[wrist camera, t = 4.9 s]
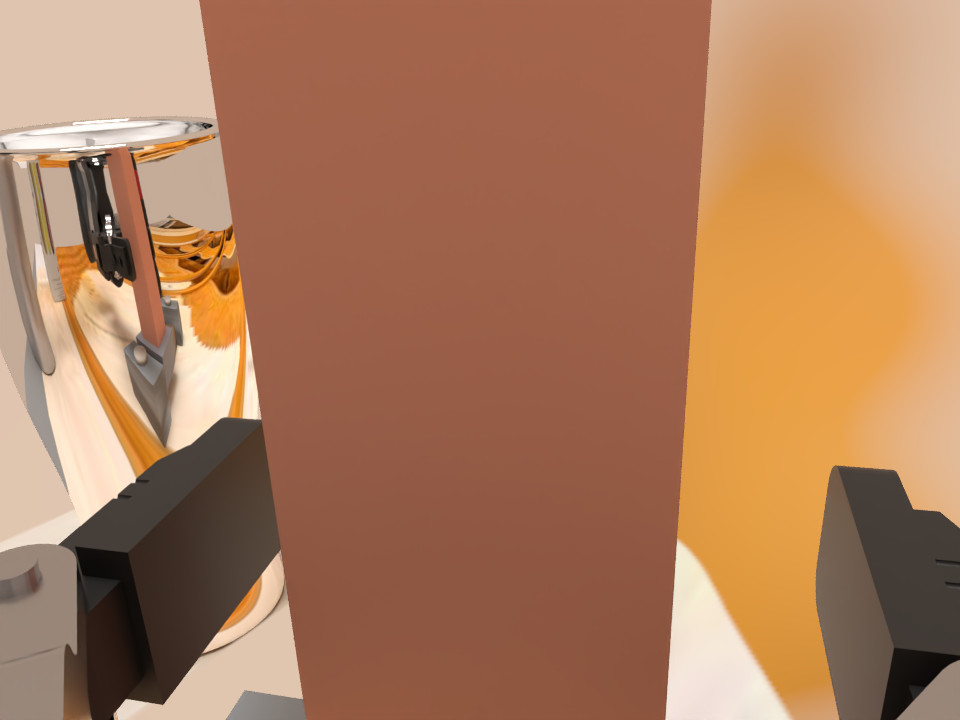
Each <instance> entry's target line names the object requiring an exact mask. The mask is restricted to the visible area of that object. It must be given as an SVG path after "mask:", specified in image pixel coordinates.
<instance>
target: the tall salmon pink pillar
mask: <svg viewBox="0 0 960 720" xmlns="http://www.w3.org/2000/svg"><path fill="white" fill-rule="evenodd" d="M199 1H200V7H201V14H202V21H203V28H204V35H205V41H206V47H207V55H208V62H209V67H210V75H211V81H212V88H213V95H214V101H215V109H216V115H217V122H218V129H219V136H220V142H221V149H222V156H223V163H224V169H225V176H226V183H227V189H228V196H229V203H230V210H231V216H232V223H233V230H234V237H235V243H236V250H237V257H238V264H239V270H240V277H241V284H242V290H243V297H244V304H245V311H246V317H247V324H248V331H249V338H250V344H251V351H252V358H253V365H254V371H255V378H256V385H257V391H258V398H259V404H260V411H261V418H262V425H263V432H264V439H265V445H266V452H267V459H268V466H269V472H270V479H271V486H272V492H273V499H274V506H275V513H276V519H277V526H278V533H279V540H280V546H281V553H282V560H283V567H284V573H285V580H286V587H287V593H288V600H289V607H290V613H291V619H292V627H293V633H294V640H295V647H296V654H297V661H298V667H299V674H300V680H301V688H302V694H303V701H304V708H305V715H306V720H665V716H666V700H667V685H668V669H669V654H670V638H671V623H672V607H673V592H674V576H675V561H676V545H677V529H678V514H679V499H680V483H681V468H682V452H683V436H684V421H685V405H686V390H687V374H688V359H689V343H690V328H691V313H692V297H693V281H694V266H695V250H696V235H697V220H698V218H697V217H698V203H699V189H700V173H701V158H702V142H703V126H704V111H705V96H706V79H707V65H708V49H709V33H710V17H711V3H712V0H199Z"/></svg>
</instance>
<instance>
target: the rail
mask: <svg viewBox="0 0 960 720" xmlns="http://www.w3.org/2000/svg"><path fill="white" fill-rule="evenodd" d="M226 720H306V715H305V708H304V701H303V699H296V698H290V697H284V696H277V695H271V694H264V693H258V692H252V691H245V692H244V693H243V694H242V696H241V697H240V699H239V700H238V702H237V703H236V705H235V706H234V708H233V709H232V711H231V713H230V714H229V716H228V717H227V719H226Z"/></svg>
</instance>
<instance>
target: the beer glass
mask: <svg viewBox="0 0 960 720" xmlns="http://www.w3.org/2000/svg"><path fill="white" fill-rule="evenodd" d="M0 348H1V351H2V354H3V357H4V359H5V362H6V364H7V366H8V369H9V371H10V373H11V376H12V378H13V380H14V383H15V385H16V388H17V390H18V392H19V394H20V397H21V399H22V401H23V403H24V405H25V407H26V409H27V411H28V413H29V415H30V417H31V420H32V422H33V424H34V426H35V428H36V430H37V432H38V434H39V436H40V438H41V440H42V442H43V444H44V446H45V448H46V450H47V452H48V453H49V456H50V457H51V459H52V461H53V463H54V465H55V467H56V469H57V471H58V473H59V475H60V477H61V479H62V482H63V484H64V486H65V488H66V490H67V492H68V494H69V497H70V499H71V501H72V503H73V505H74V507H75V511H76V514H77V517H78V520H79V523H80V526H81V525H82V524H83V523H85V522H86V521H87V520H88V519H89V518H90V517H92V516H93V515H94V514H95V513H96V512H98V511H99V510H100V509H101V508H102V507H103V506H105V505H106V504H107V503H108V502H109V501H110V500H112V499H113V498H115V499H117V497H118V494H119V493H120V492H121V491H122V490H123V489H124V488H126V487H127V486H128V485H129V484H130V483H135V481H136V478H137V477H139V476H140V475H141V474H142V473H143V472H144V471H146V470H147V469H148V468H149V467H150V466H151V465H153V464H154V463H155V462H156V461H157V460H159V459H161V458H163V457H165V456H167V455H170V454H172V453H174V452H176V451H178V450H180V449H182V448H184V447H186V446H188V445H191V444H192V443H193V442H194V441H195V440H197V439H198V438H199V437H200V436H201V435H202V434H203V433H205V432H206V431H207V430H208V429H209V428H210V427H211V426H212V425H214V424H215V423H216V422H217V421H218V420H220V419H221V418H224V417H232V418H245V419H257V412H258V391H257V385H256V378H255V371H254V365H253V358H252V351H251V344H250V338H249V331H248V324H247V317H246V311H245V304H244V297H243V290H242V284H241V277H240V270H239V264H238V257H237V250H236V243H235V237H234V230H233V223H232V216H231V210H230V203H229V196H228V189H227V183H226V176H225V169H224V163H223V156H222V149H221V142H220V136H219V129H218V122H217V119H211V118H202V117H176V116H174V117H173V116H172V117H171V116H169V117H168V116H167V117H131V118H112V119H99V120H85V121H74V122H63V123H53V124H44V125H36V126H28V127H21V128H15V129H8V130H2V131H0ZM283 587H284V570H283V565H282V562H281V559H280V556H279V553H278V554H277V555H276V556H275V558H274V559H273V560H272V562H271V563H270V564H269V566H268V567H267V568H266V570H265V571H264V572H263V573H262V575H261V576H260V577H259V579H258V580H257V581H256V583H255V584H254V585H253V587H252V588H251V589H250V591H249V592H248V593H247V595H246V596H245V597H244V599H243V600H242V601H241V603H240V604H239V605H238V607H237V608H236V609H235V611H234V612H233V613H232V614H231V616H230V617H229V618H228V620H227V621H226V622H225V624H224V625H223V626H222V628H221V629H220V630H219V632H218V633H217V634H216V636H215V637H214V638H213V640H212V641H211V642H210V644H209V645H208V646H207V648H206V649H205V650H204V652H203V653H206V652H209V651H212V650H215V649H217V648H220V647H222V646H224V645H226V644H228V643H230V642H232V641H234V640H236V639H238V638H240V637H241V636H243V635H245V634H246V633H248V632H249V631H250V630H252V629H253V628H254V627H256V626H257V625H258V624H259V623H260V622H261V621H262V620H264V619H265V618H266V617H267V615H268V614H269V613H270V612H271V611H272V610H273V608H274V607H275V605H276V604H277V602H278V601H279V599H280V596H281V594H282V591H283ZM203 653H202V654H203Z"/></svg>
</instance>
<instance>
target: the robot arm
mask: <svg viewBox="0 0 960 720" xmlns="http://www.w3.org/2000/svg"><path fill="white" fill-rule="evenodd" d="M280 549H281V546H280V540H279V533H278V526H277V519H276V513H275V506H274V499H273V492H272V486H271V479H270V472H269V466H268V459H267V452H266V445H265V439H264V432H263V425H262V420H258V419H245V418H232V417H224V418H221V419H220V420H218V421H217V422H216V423H215V424H214V425H212V426H211V427H210V428H209V429H208V430H207V431H206V432H205V433H203V434H202V435H201V436H200V437H199V438H198V439H197V440H195V441H194V442H193V443H192V444H191V445H188V446H186V447H184V448H182V449H180V450H178V451H176V452H174V453H172V454H170V455H167V456H165V457H163V458H161V459H159V460H157V461H156V462H155V463H154V464H153V465H151V466H150V467H149V468H148V469H147V470H146V471H144V472H143V473H142V474H141V475H140V476H139V477H137V478H136V481H135V483H130V484H129V485H128V486H127V487H126V488H124V489H123V490H122V491H121V492H120V493H119V494H118V497H117V499H115V498H113V499H112V500H110V501H109V502H108V503H107V504H106V505H105V506H103V507H102V508H101V509H100V510H99V511H98V512H96V513H95V514H94V515H93V516H92V517H90V518H89V519H88V520H87V521H86V522H85V523H83V524H82V525H81V526H80V527H79V528H78V529H76V530H75V531H74V532H73V533H72V534H71V535H69V536H68V537H67V538H66V539H65V540H63V541H62V542H61V543H60V544H59V545H53V544H35V545H27V546H22V547H17V548H13V549H10V550H6V551H4V552H1V553H0V720H118V717H117V713H116V710H117V709H118V708H119V707H120V706H121V704H122V703H123V702H124V701H125V699H131V700H137V701H143V702H149V703H155V704H161V705H163V704H164V703H165V702H166V700H167V699H168V698H169V696H170V695H171V694H172V693H173V691H174V690H175V689H176V687H177V686H178V685H179V683H180V682H181V681H182V679H183V678H184V677H185V675H186V674H187V673H188V671H189V670H190V669H191V667H192V666H193V665H194V663H195V662H196V661H197V659H198V658H199V657H200V655H201V654H202V653H203V652H204V650H205V649H206V648H207V646H208V645H209V644H210V642H211V641H212V640H213V638H214V637H215V636H216V634H217V633H218V632H219V630H220V629H221V628H222V626H223V625H224V624H225V622H226V621H227V620H228V618H229V617H230V616H231V614H232V613H233V612H234V611H235V609H236V608H237V607H238V605H239V604H240V603H241V601H242V600H243V599H244V597H245V596H246V595H247V593H248V592H249V591H250V589H251V588H252V587H253V585H254V584H255V583H256V581H257V580H258V579H259V577H260V576H261V575H262V573H263V572H264V571H265V570H266V568H267V567H268V566H269V564H270V563H271V562H272V560H273V559H274V558H275V556H276V555H277V554H278V552H279V551H280ZM816 604H817V612H818V617H819V622H820V627H821V631H822V637H823V641H824V646H825V651H826V656H827V661H828V665H829V671H830V676H831V680H832V685H833V690H834V695H835V699H836V705H837V709H838V715H839V720H960V528H959V527H957V526H956V525H955V524H954V523H953V522H951V521H950V520H949V519H948V518H946V517H945V516H944V515H943V514H942V513H941V512H937V511H925V510H914V509H913V508H912V506H911V503H910V501H909V499H908V497H907V494H906V492H905V490H904V488H903V485H902V483H901V480H900V478H899V476H898V474H897V472H896V471H894V470H885V469H873V468H860V467H846V466H834V467H833V468H832V470H831V474H830V477H829V483H828V490H827V497H826V504H825V511H824V518H823V525H822V532H821V539H820V546H819V554H818V561H817V570H816Z"/></svg>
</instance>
